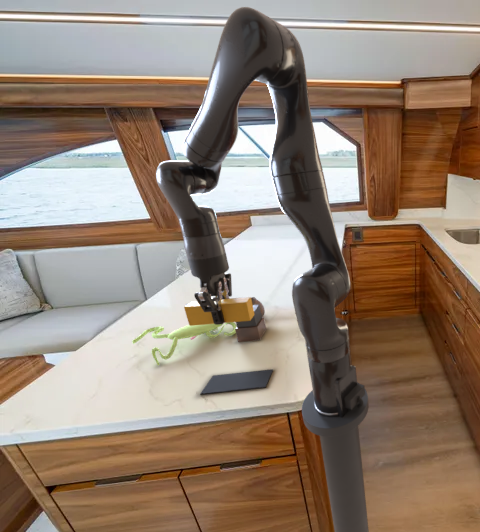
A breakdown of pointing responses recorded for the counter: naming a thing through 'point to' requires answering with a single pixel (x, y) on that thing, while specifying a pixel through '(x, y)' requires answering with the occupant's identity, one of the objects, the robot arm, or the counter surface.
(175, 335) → the figurine
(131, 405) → the counter surface
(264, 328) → the tower base
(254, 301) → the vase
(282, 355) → the counter surface
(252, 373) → the mat
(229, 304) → the bar
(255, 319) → the tower top
